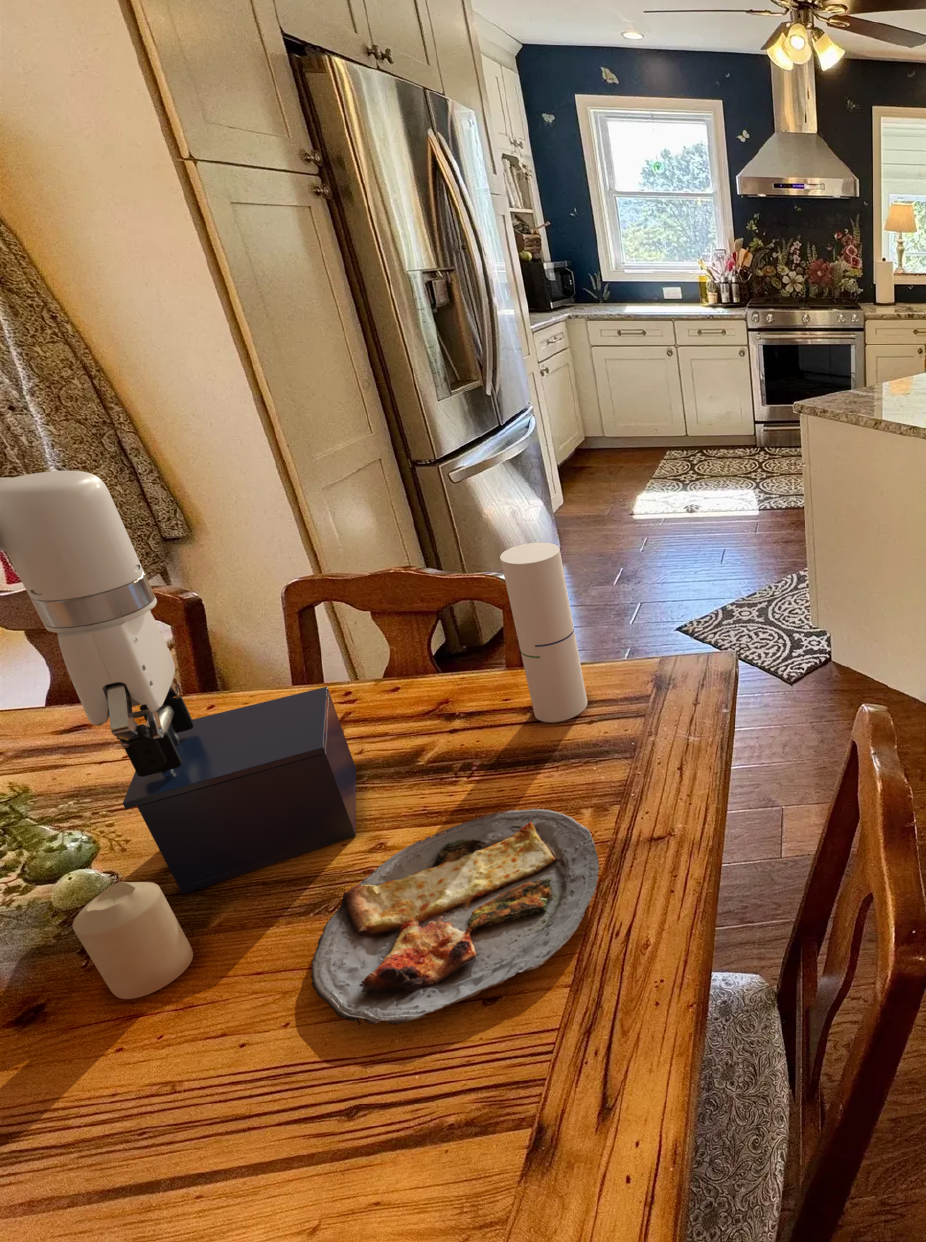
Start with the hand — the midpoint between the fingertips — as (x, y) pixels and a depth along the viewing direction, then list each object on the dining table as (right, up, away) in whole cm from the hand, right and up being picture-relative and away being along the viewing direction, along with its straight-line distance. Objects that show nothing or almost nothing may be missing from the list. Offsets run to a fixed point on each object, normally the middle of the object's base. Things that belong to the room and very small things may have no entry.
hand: (167, 749), depth 77 cm
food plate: (+33, -17, -2) cm, 37 cm away
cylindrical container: (+26, -2, +31) cm, 41 cm away
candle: (+7, -19, -8) cm, 22 cm away
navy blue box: (+4, -11, +8) cm, 15 cm away
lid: (+4, 0, +3) cm, 6 cm away
